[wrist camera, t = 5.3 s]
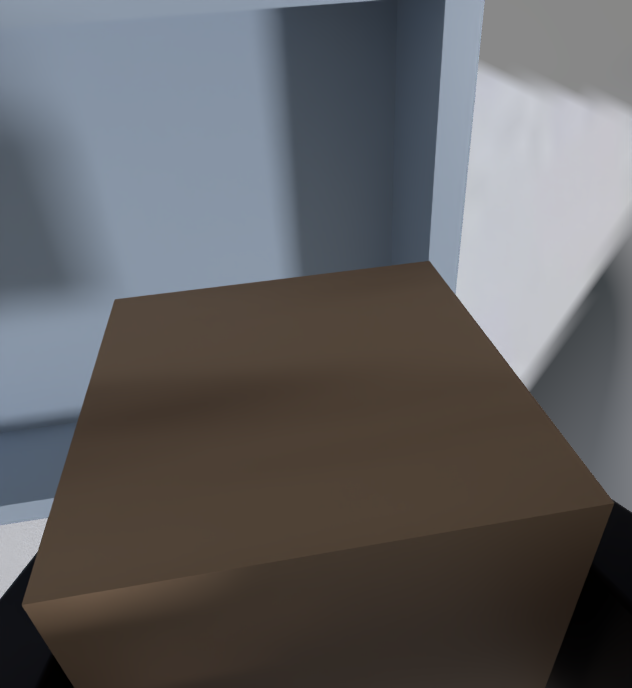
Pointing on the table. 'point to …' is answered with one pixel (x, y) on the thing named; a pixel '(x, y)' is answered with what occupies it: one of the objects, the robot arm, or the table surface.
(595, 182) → the table surface
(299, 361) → the walnut cube
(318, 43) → the tote
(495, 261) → the table surface
